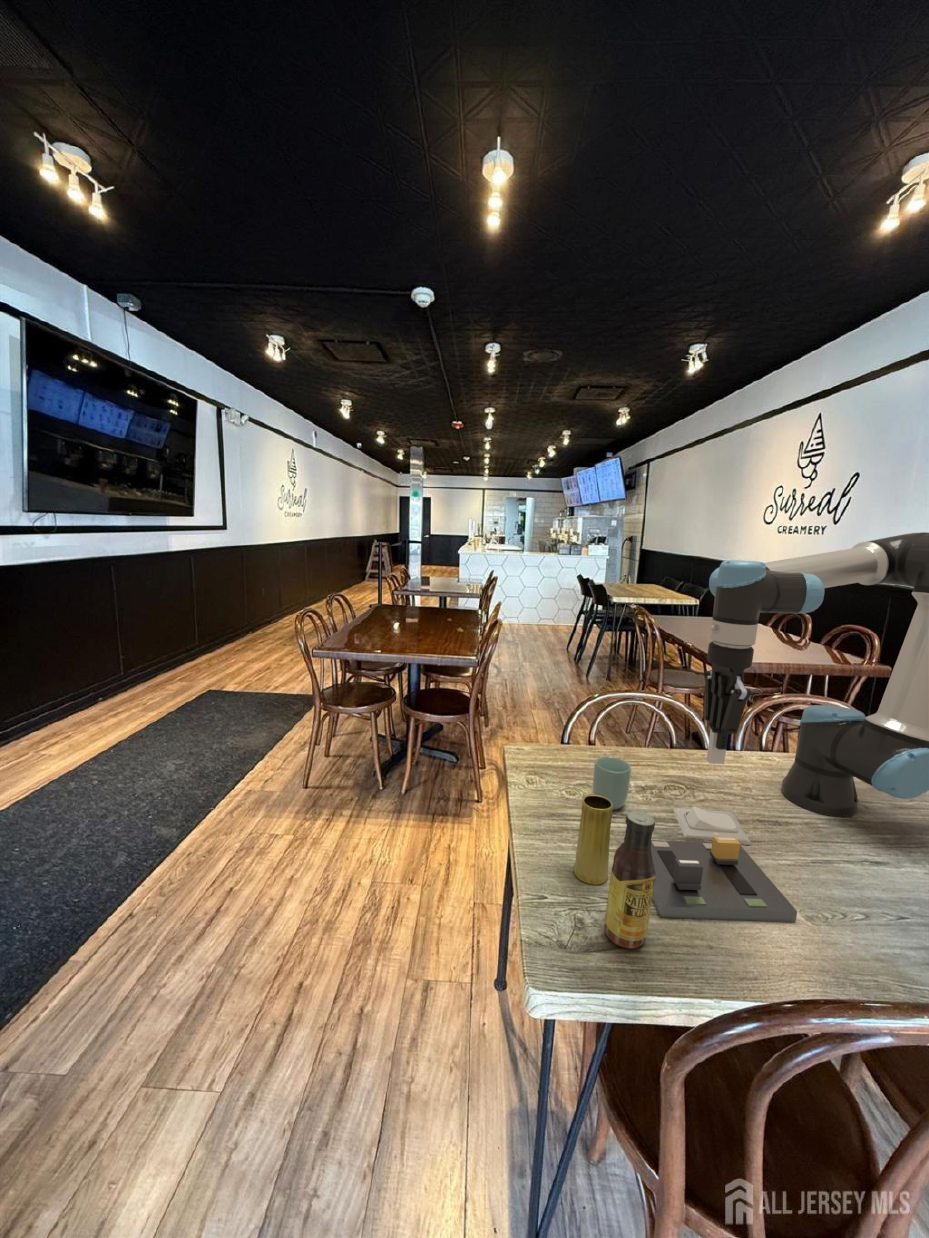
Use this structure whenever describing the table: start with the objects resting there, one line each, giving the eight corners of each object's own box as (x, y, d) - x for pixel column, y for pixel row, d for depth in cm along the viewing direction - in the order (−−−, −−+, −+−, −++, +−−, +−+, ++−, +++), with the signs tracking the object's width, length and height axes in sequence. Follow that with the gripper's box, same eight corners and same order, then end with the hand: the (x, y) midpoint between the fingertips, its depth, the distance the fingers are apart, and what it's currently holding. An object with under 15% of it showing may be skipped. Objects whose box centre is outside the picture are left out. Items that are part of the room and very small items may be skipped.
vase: (614, 883, 90) (622, 809, 88) (582, 887, 89) (589, 812, 86) (598, 861, 96) (605, 791, 93) (568, 864, 95) (574, 794, 92)
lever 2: (730, 854, 96) (733, 834, 95) (738, 864, 93) (741, 844, 92) (709, 853, 96) (711, 833, 95) (716, 864, 93) (719, 843, 92)
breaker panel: (737, 852, 100) (738, 842, 100) (795, 922, 83) (797, 910, 82) (626, 848, 100) (627, 838, 100) (660, 917, 83) (662, 905, 82)
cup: (614, 818, 111) (618, 775, 109) (584, 803, 116) (588, 762, 115) (633, 806, 116) (637, 765, 114) (603, 792, 122) (607, 753, 120)
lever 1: (693, 878, 89) (696, 856, 88) (701, 890, 86) (704, 867, 85) (671, 877, 89) (673, 855, 88) (678, 889, 86) (681, 867, 85)
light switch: (673, 797, 115) (734, 801, 113) (672, 814, 116) (733, 818, 113) (684, 824, 105) (752, 829, 102) (683, 842, 105) (750, 848, 103)
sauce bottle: (622, 957, 75) (636, 834, 71) (595, 926, 80) (607, 811, 77) (656, 944, 77) (671, 825, 74) (628, 915, 83) (640, 803, 79)
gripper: (695, 635, 101) (681, 746, 105) (729, 651, 88) (712, 777, 92) (733, 637, 101) (717, 748, 105) (772, 653, 88) (753, 779, 92)
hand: (715, 761), depth 99 cm, fingers closed
